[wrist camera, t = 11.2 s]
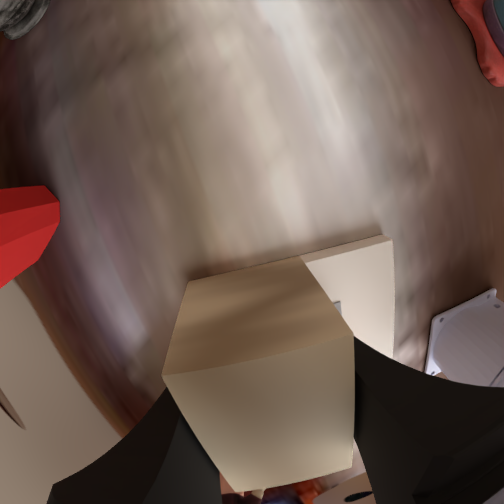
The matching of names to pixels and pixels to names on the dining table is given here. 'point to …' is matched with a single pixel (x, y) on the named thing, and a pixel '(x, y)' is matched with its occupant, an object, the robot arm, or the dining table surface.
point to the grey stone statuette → (20, 16)
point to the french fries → (25, 227)
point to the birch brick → (265, 374)
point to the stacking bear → (486, 34)
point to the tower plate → (360, 287)
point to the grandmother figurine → (238, 494)
